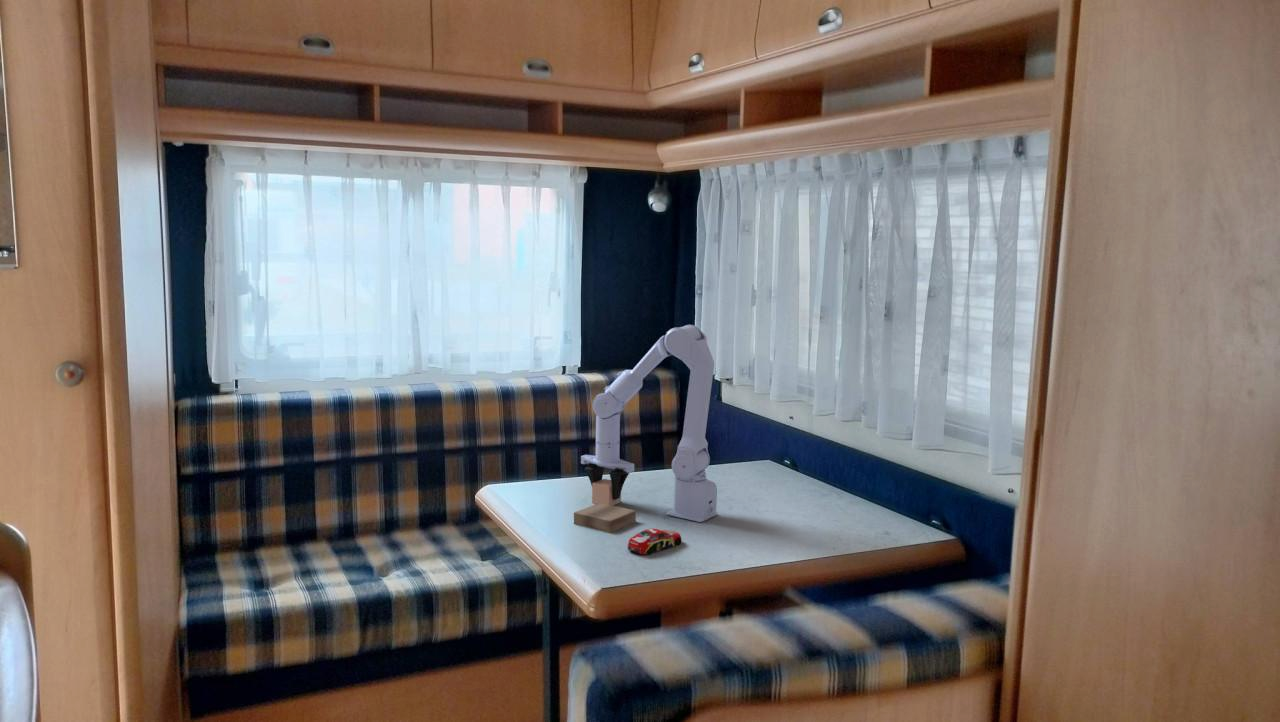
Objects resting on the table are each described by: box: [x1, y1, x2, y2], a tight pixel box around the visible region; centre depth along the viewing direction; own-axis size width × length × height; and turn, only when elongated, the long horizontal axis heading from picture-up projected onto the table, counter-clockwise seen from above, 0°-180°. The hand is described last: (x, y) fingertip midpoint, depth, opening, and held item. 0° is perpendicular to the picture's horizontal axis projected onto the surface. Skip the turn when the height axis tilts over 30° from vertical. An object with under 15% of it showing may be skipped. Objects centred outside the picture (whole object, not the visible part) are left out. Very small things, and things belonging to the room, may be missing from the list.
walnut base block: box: [573, 503, 637, 533], centre depth 208 cm, size 10×10×3 cm
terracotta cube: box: [591, 478, 622, 506], centre depth 224 cm, size 5×5×5 cm
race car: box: [627, 528, 682, 555], centre depth 193 cm, size 13×5×4 cm, turn 133°
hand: (606, 496), depth 224 cm, fingers closed on terracotta cube, 5 cm apart
